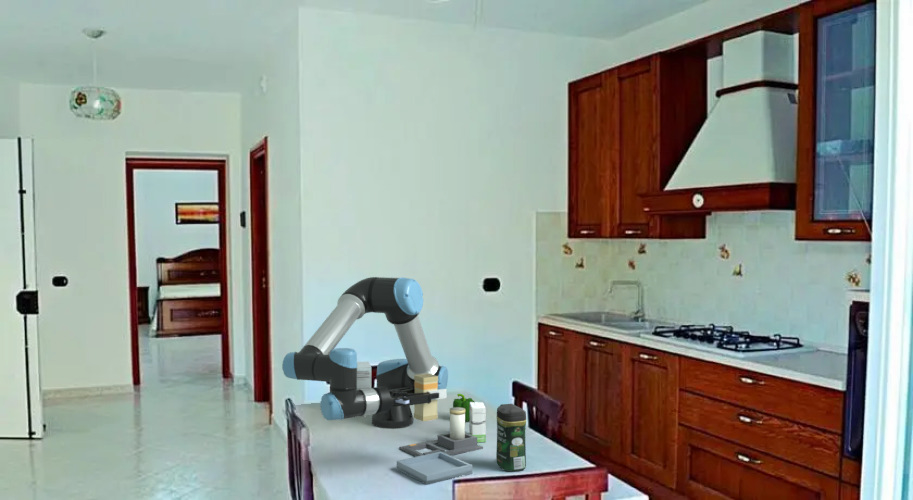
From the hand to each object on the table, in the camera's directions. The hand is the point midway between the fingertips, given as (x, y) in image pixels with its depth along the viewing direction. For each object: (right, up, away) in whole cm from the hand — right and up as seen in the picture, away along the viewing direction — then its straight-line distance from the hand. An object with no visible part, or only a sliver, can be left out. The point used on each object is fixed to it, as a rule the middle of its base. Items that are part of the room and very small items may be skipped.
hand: (440, 391), depth 219 cm
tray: (-2, -21, -9) cm, 24 cm away
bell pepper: (+8, -20, +48) cm, 53 cm away
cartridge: (+5, -21, +17) cm, 27 cm away
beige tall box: (-4, -7, -3) cm, 9 cm away
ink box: (+12, -21, +24) cm, 34 cm away
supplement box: (-36, -20, +66) cm, 78 cm away
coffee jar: (+21, -22, -5) cm, 31 cm away
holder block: (0, -21, +13) cm, 25 cm away
